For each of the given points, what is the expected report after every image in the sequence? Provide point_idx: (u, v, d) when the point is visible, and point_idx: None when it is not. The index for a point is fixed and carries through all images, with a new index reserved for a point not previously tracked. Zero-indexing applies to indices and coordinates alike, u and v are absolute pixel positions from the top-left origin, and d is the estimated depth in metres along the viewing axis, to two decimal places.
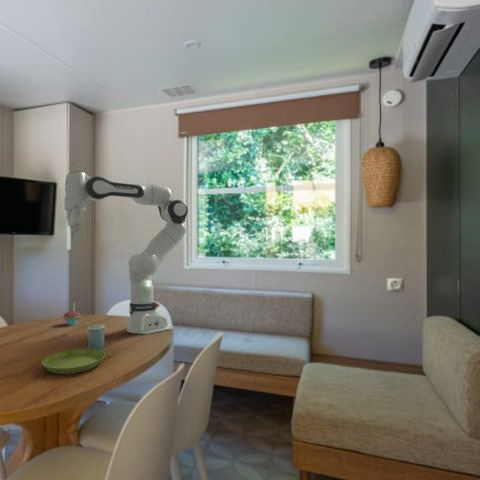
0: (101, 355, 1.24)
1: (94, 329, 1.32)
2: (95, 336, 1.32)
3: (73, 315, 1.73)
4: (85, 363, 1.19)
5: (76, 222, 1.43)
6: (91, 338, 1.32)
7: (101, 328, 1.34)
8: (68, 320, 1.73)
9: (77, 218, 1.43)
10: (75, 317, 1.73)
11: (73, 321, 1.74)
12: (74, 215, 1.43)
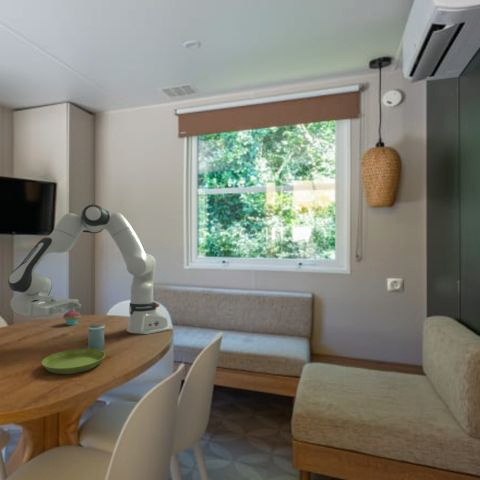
0: (101, 355, 1.24)
1: (94, 329, 1.32)
2: (95, 336, 1.32)
3: (73, 315, 1.73)
4: (85, 363, 1.19)
5: None
6: (91, 338, 1.32)
7: (101, 328, 1.34)
8: (68, 320, 1.73)
9: None
10: (75, 317, 1.73)
11: (73, 321, 1.74)
12: None
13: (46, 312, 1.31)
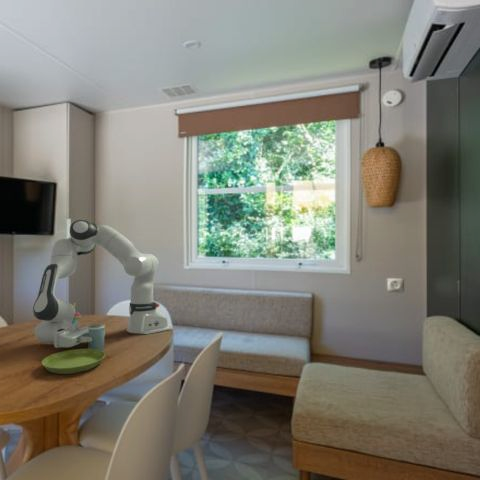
0: (101, 355, 1.24)
1: (94, 329, 1.32)
2: (95, 336, 1.32)
3: None
4: (85, 363, 1.19)
5: None
6: None
7: (101, 328, 1.34)
8: None
9: None
10: (75, 317, 1.73)
11: (73, 321, 1.74)
12: None
13: (73, 342, 1.28)
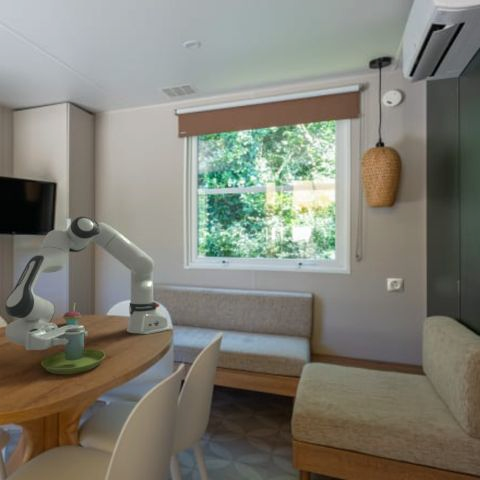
0: (101, 355, 1.24)
1: (71, 334, 1.16)
2: (72, 342, 1.16)
3: (73, 315, 1.73)
4: (85, 363, 1.19)
5: None
6: (68, 344, 1.16)
7: (80, 333, 1.17)
8: (68, 320, 1.73)
9: None
10: (75, 317, 1.73)
11: (73, 321, 1.74)
12: None
13: (46, 344, 1.11)
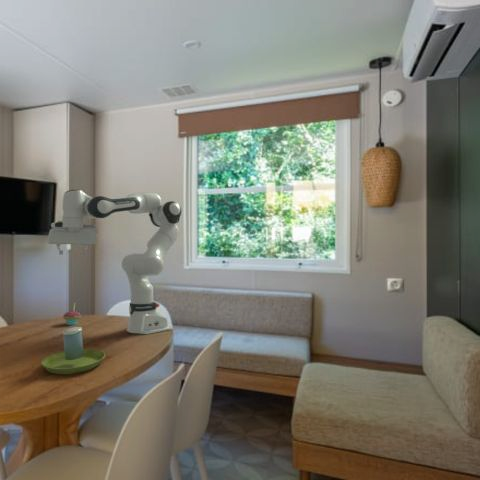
0: (101, 355, 1.24)
1: (67, 334, 1.15)
2: (68, 342, 1.15)
3: (73, 315, 1.73)
4: (85, 363, 1.19)
5: (96, 242, 1.55)
6: (65, 344, 1.16)
7: (75, 332, 1.16)
8: (68, 320, 1.73)
9: None
10: (75, 317, 1.73)
11: (73, 321, 1.74)
12: None
13: None
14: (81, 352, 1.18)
